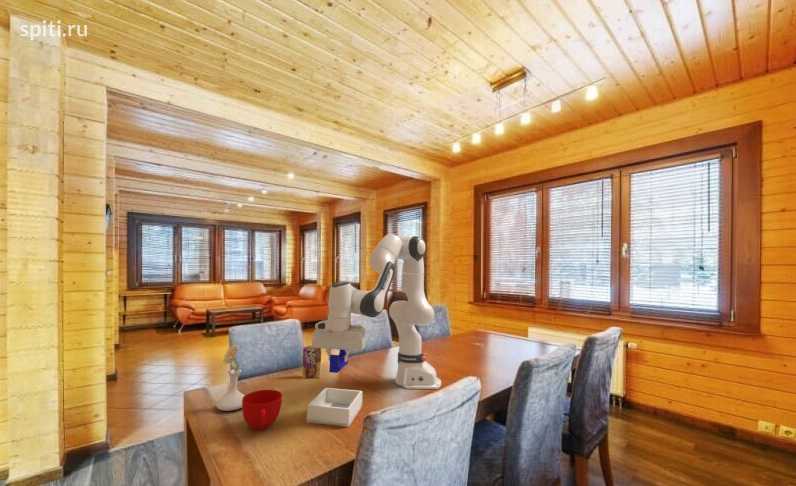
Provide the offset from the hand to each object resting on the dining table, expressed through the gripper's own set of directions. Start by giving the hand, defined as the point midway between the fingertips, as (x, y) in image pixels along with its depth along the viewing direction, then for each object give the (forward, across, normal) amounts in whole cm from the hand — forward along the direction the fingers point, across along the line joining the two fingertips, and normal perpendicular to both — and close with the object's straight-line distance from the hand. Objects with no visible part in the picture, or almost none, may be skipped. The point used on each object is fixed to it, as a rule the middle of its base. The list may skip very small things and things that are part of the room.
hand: (337, 360), depth 128 cm
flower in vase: (+20, +40, +4) cm, 45 cm away
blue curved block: (+3, 0, 0) cm, 3 cm away
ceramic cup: (+20, +21, +16) cm, 33 cm away
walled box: (+20, 0, 0) cm, 20 cm away
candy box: (+20, +26, -37) cm, 49 cm away
